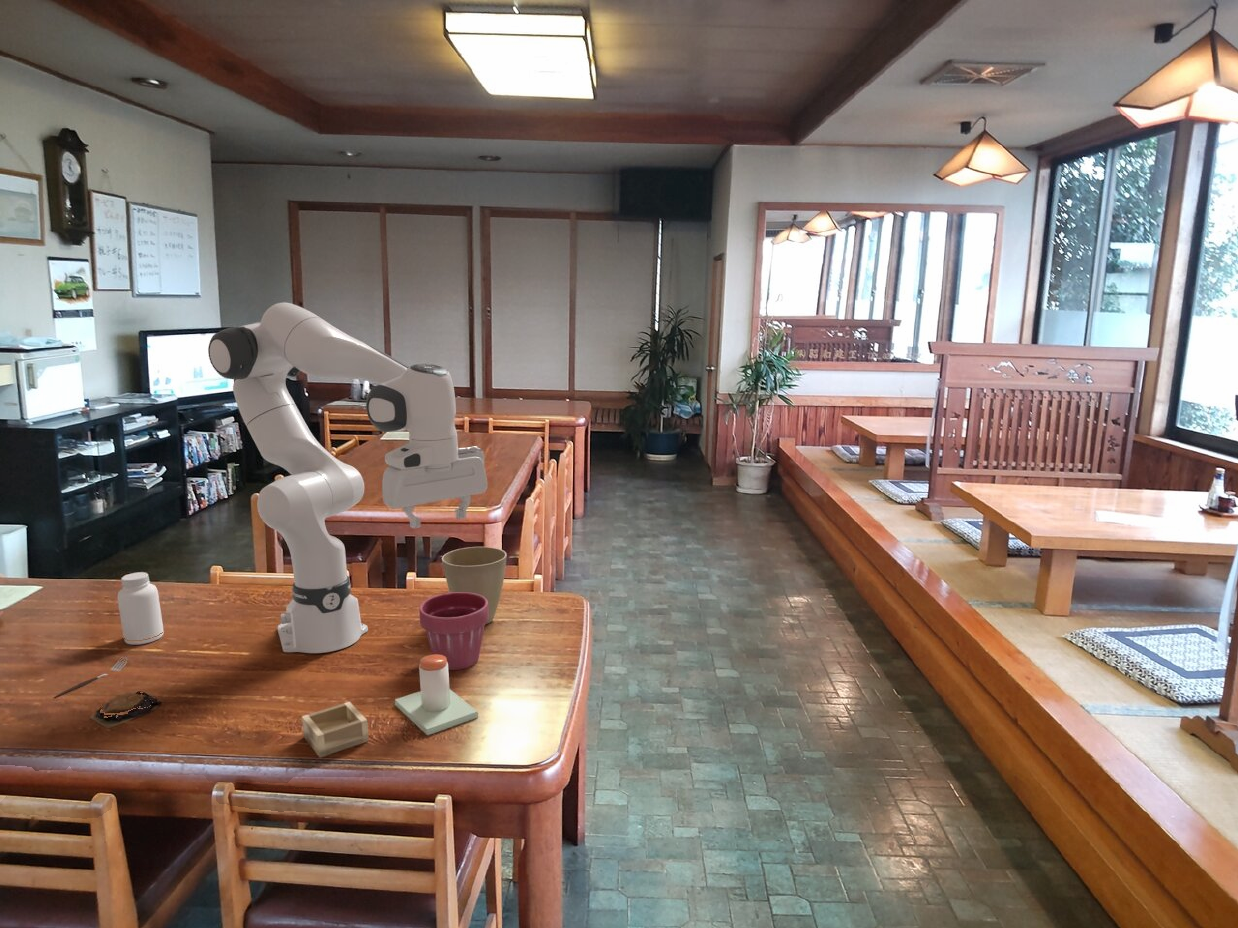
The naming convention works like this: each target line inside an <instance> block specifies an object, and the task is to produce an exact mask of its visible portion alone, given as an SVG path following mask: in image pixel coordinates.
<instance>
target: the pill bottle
mask: <svg viewBox="0 0 1238 928" xmlns="http://www.w3.org/2000/svg"><path fill="white" fill-rule="evenodd" d="M120 580H121V586H122V588H121V589H120V590H119V591H118V593H117V596H116V597H117V605H118V610H119V617H120V622H121V624H120V625H121V629H122V636H123V639H124V638H125V639H127V640H143V639H148V638H151V639H148V640H143V641H127V640H125V639H124V643H126V644H127V645H132V646H133V645H135V646H136V645H137V646H138V645H144V644H149V643H152V642H155V641H157V640H159V639H161V638H162V637H163V636H164V625H163V617H162V610H161V604H160V596H159V591H158V588H157V586H156V585H155V584H152V583H150V582H151V581H150V577H149V574H148V573H147V572H144V571H140V572H138V571H137V572H132V573H129V574H128V573H127V574H126V575H124V576H122V577H121V579H120ZM162 632H163V633H162ZM160 633H162V634H160ZM159 634H160V635H159ZM157 635H159V636H157ZM154 636H157V637H154ZM152 637H154V638H152Z"/></svg>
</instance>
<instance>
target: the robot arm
mask: <svg viewBox="0 0 1238 928" xmlns="http://www.w3.org/2000/svg"><path fill="white" fill-rule="evenodd" d="M207 350H208V358H209V362H210V365H211V367H213V369H214V370H215V372H216V373H217V374H218V375H219V376H220V377H223V379H229V380H234V382H233V385H232V391H233V395H234V398H235V402H236V405H237V408H238V411H239V414H240V416H241V418H242V420H243V422H244V425H245V426H246V428H247V430H248V432H249V434H250V436H251V438H252V440H253V441H254V443H255V446H256V448H257V449H258V451H259V453H260V455H261V457H262V458H263V459H264V460H265V461H266V462H267V463H271V464H273V465H275V466H279V467H281V468H283V470H285V471H287V472H288V473H289V474H290V475H288V476H283V477H280V478H278V479H276V480H274V481H273V482H271V483H269V484H267V485H266V486H264V487H263V488H262V489H261V490H260V491H259V493H258V496H257V501H256V506H257V507H256V508H257V512H258V514H259V517H260V519H261V520H262V522H264V523H265V524H266V526H268V527H269V528H271V529H272V530H275V531H276V532H278V533H279V534H280V535H281V537H282V539H284V541H285V542H286V544H287V547H288V549H289V553H290V557H291V565H292V574H293V580H294V581H293V583H292V590H291V593H292V598H291V599H292V600H291V601H290V602H289V603H288V604H287V605H286V607H285V609H286V612H285V613H284V612H283V613H281V614H280V616H279V617H280V624H278V625H277V633H278V637H279V641H280V644H281V647H282V648H281V649H282V651H283V652H284V653H304V654H322V653H324V654H325V653H330V652H334V651H339V650H342V649H345V648H348V647H349V646H351V645H353V644H355V643H357V641H359V639H360V638H361V637H362V635H364V634H365V633H368V631H369V628H368V625H366V624H364V623H363V622H361V621H362V620H361V614H360V607H359V600H358V598H357V597H355V595H353V594H351V593H352V592H351V591H352V590H351V589H352V588H351V586H352V584H351V580H350V577H349V576H348V572H347V571H348V569H347V556H346V548H345V544H344V543H343V541H341V540H340V539H339V538H337V537H336V536H333V535H331V534H329V532H328V531H327V526H326V523H325V521H326V519H327V518H330V517H333V516H336V515H339V514H342V513H345V512H346V511H348V510H350V509H351V508H353V507H354V506H356V505H357V504H358V503H359V502H360V501H362V499H363V497H364V495H365V482H364V478H363V476H362V475H361V473H360V471H359V470H358V469H357V468H356V467H354V466H352V465H350V464H347V463H345V462H344V461H341V460H339V459H338V458H336V457H335V456H334V455H332V454H331V453H330V452H329V451H328V450H327V449H326V448H325V447H324V446H322V444H321V443H320V442H319V441H318V440H317V439H316V437H315V436H314V434H313V433H312V432H311V430H310V429H309V427H308V425H307V423H306V422H305V419H304V418H303V416H302V414H301V412H300V410H299V408H298V406H297V405H296V403H295V401H294V399H293V397H292V396H291V394H290V393H289V390H288V388H287V385H286V380H287V376H288V377H292V378H293V377H294V378H296V377H297V376H299V374H300V372H302V373H304V374H306V375H308V376H311V377H314V378H317V379H321V380H347V379H348V380H362V381H367V382H370V383H374V384H377V385H374V386H373V387H371V389H370V390H369V393H367V398H366V400H365V409H366V414H367V418H368V419H369V421H370V423H371V424H372V426H373V427H375V428H376V429H377V430H378V431H380V432H382V433H398V432H404V431H407V432H408V439H409V442H407V443H405V444H403V445H402V446H400V447H398V448H395V449H393V450H391V451H389V452H387V453H386V454H385V455H384V462H385V464H386V465H388V466H387V467H386V468H384V472H383V474H382V485H381V486H382V488H381V491H382V492H381V494H382V501H383V503H384V504H385V505H386V506H387V507H389V508H391V509H394V510H396V509H402V511H403V512H404V513H405V515H406V516H407V518H408V519H409V526H410V528H411V529H418V528H421V527H422V524H421V522H422V521H421V519H422V518H420V517H418V516H415V514H414V513H413V512H415V506H417V505H424V504H428V503H435V502H441V501H446V500H452V499H457V498H459V500H461V502H460V504H459V507H458V508H456V509H454V513H455V515H454V516H455V519H457V520H464V519H466V518H467V509H468V508H469V505H470V503H471V501H472V497H471V496H475V495H480V494H483V493H486V490H487V488H488V479H487V472H486V469H485V458H486V457H485V452H484V451H483V449H482V448H479V447H478V446H476V445H475V446H473V445H472V446H469V447H459V441H458V431H457V429H456V422H455V419H456V414H457V405H456V404H457V403H456V396H455V395H456V393H455V388H454V382H453V378H452V376H451V372H449V370H448V369H446V368H445V367H443V366H440V365H435V364H427V363H418V364H413V365H411V366H408V365H407V364H405V363H403V362H401V361H400V360H398V359H396V358H394V357H392V355H389V354H388V353H385V352H384V351H382V350H379V349H378V348H376V347H373V346H371V345H369V344H367V343H366V342H363V341H361V340H359V339H357V338H355V337H353V336H351V335H349V334H347V333H345V332H344V331H342V330H340V329H338V328H337V327H335V326H333V325H332V324H331V323H329V322H328V321H326V320H325V319H323V318H321V317H320V316H318V315H317V314H315V313H314V312H312V311H310V310H308V309H306V308H303V307H302V306H299V305H296V304H294V303H291V302H285V301H283V302H277V303H275V304H273V305H271V306H270V307H269V308H268V309H266V311H265V312H264V313H263V315H262V317H261V320H260V321H255V322H253V323H249V324H245V325H241V326H231V327H228V328H224V329H221V330H220V331H218V332H216V333H214V334H213V335H212V336H211V339H210V341H209V343H208V348H207Z"/></svg>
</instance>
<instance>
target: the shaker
mask: <svg viewBox="0 0 1238 928" xmlns="http://www.w3.org/2000/svg"><path fill="white" fill-rule="evenodd" d="M418 672H419V673H418V674H419V684H420V686H419V687H420V691H421V704H422V709H423V710H425V711H428V712H438V711H442V710H445V709H447V708H448V707H449V706H450V690H451V689H450V677H449V676H450V675H449V674H450V673H449V670H448V662H447V658H446V657H445V656H443V655H438V654H434V655H433V654H429V655H425V656H423V657H421V658H420V659H419V666H418ZM449 689H450V690H449Z"/></svg>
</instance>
